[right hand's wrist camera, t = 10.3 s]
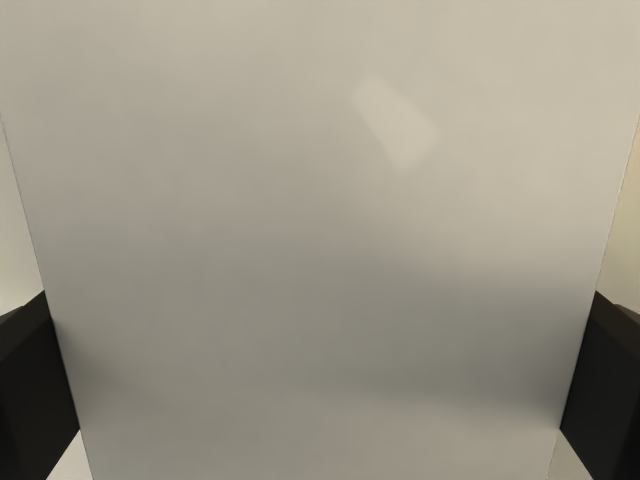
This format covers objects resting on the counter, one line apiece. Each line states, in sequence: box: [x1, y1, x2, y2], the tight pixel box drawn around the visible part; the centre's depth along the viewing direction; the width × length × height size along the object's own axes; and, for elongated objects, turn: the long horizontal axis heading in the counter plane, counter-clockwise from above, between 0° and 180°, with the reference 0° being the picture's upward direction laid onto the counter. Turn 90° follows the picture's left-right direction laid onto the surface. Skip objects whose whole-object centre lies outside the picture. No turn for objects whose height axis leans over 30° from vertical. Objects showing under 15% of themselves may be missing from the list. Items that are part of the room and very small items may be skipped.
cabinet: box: [0, 0, 640, 480], centre depth 12 cm, size 18×10×10 cm, turn 0°
